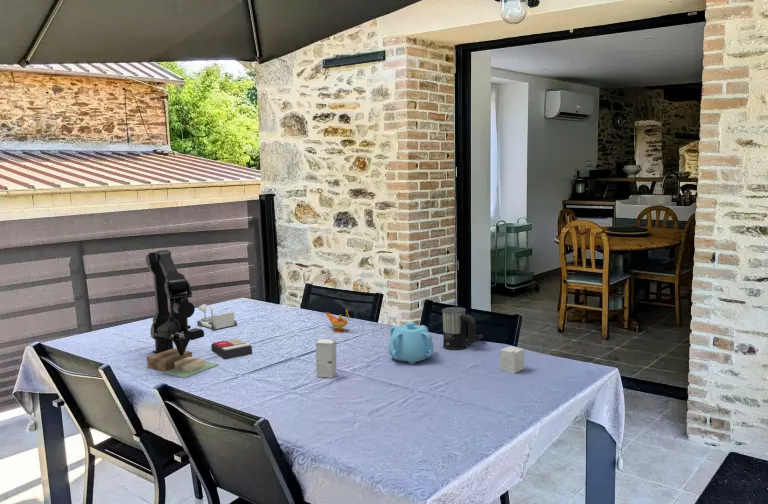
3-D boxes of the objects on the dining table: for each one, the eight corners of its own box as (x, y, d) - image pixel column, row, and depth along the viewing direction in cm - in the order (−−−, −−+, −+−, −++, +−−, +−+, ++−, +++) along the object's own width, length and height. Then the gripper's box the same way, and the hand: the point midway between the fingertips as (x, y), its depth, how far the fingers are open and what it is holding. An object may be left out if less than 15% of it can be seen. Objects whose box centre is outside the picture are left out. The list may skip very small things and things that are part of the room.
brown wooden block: (147, 367, 228) (146, 357, 227) (173, 358, 238) (173, 348, 238) (166, 371, 223) (165, 360, 222) (192, 362, 233) (191, 351, 233)
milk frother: (439, 349, 242) (438, 311, 240) (451, 338, 256) (450, 302, 254) (475, 352, 236) (475, 313, 234) (485, 341, 251) (485, 304, 249)
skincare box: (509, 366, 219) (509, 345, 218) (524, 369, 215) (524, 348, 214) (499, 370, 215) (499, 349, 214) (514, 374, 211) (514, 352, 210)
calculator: (237, 337, 254) (251, 343, 241) (238, 347, 254) (252, 354, 242) (210, 342, 248) (224, 348, 235) (211, 353, 248) (225, 360, 236)
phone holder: (192, 304, 289) (215, 300, 297) (194, 325, 290) (216, 320, 298) (213, 310, 276) (236, 305, 284) (214, 332, 277) (237, 327, 286)
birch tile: (174, 368, 225) (174, 361, 225) (189, 362, 231) (189, 356, 231) (190, 371, 221) (190, 364, 221) (205, 365, 227) (205, 359, 227)
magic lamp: (332, 325, 283) (331, 301, 281) (356, 332, 269) (355, 307, 267) (319, 328, 278) (318, 303, 277) (343, 335, 264) (342, 310, 263)
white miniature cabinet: (315, 377, 213) (314, 342, 211) (321, 372, 217) (319, 338, 216) (332, 378, 211) (331, 343, 210) (337, 374, 215) (336, 339, 214)
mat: (162, 373, 221) (162, 372, 221) (197, 360, 235) (197, 359, 235) (184, 378, 215) (184, 377, 215) (218, 364, 229) (218, 363, 229)
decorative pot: (433, 352, 238) (433, 317, 236) (433, 365, 222) (432, 328, 220) (390, 352, 239) (390, 317, 237) (387, 365, 223) (386, 328, 222)
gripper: (142, 315, 222) (145, 357, 225) (179, 320, 213) (182, 365, 215) (167, 308, 232) (170, 349, 234) (203, 313, 222) (206, 356, 225)
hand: (181, 355), depth 227 cm, fingers closed
